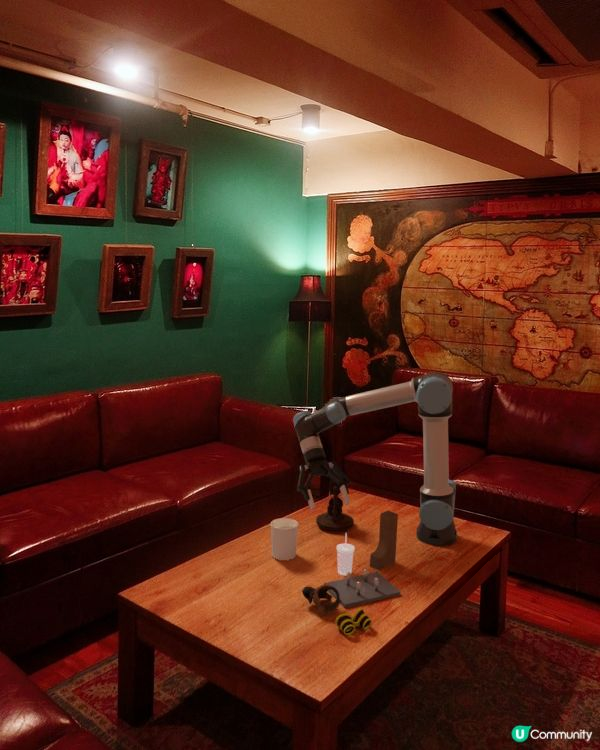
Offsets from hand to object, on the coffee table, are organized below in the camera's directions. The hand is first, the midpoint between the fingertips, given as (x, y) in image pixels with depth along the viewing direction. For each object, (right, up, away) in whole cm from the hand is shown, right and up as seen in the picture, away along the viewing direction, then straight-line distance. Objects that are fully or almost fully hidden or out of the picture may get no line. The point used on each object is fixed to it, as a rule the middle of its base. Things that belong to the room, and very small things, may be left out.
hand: (330, 506), depth 226 cm
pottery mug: (-4, -25, -28) cm, 38 cm away
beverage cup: (+4, -21, -6) cm, 23 cm away
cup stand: (+9, -23, -18) cm, 31 cm away
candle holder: (-16, -19, +5) cm, 25 cm away
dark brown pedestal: (+3, -14, +31) cm, 35 cm away
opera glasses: (+5, -28, -39) cm, 48 cm away
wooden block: (+18, -20, 0) cm, 27 cm away
